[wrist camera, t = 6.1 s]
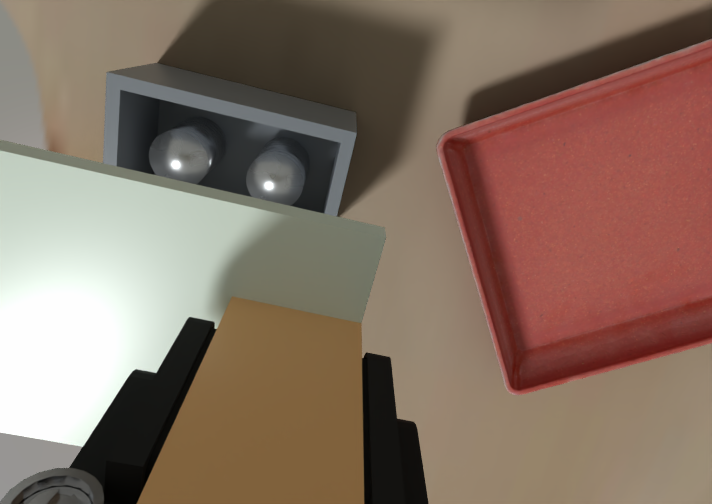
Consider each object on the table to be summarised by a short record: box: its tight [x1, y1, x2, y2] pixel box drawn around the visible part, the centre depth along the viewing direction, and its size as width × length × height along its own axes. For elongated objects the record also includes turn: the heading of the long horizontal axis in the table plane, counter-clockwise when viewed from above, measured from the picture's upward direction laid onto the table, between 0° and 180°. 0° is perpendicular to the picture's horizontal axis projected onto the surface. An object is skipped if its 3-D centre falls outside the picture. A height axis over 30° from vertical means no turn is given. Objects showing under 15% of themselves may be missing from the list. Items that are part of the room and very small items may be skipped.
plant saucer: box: [436, 39, 712, 395], centre depth 30 cm, size 18×18×3 cm
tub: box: [103, 63, 357, 216], centre depth 26 cm, size 7×11×6 cm, turn 76°
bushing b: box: [246, 137, 310, 206], centre depth 27 cm, size 3×3×4 cm
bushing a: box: [149, 117, 227, 184], centre depth 26 cm, size 3×3×4 cm
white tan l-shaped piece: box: [0, 140, 386, 504], centre depth 9 cm, size 8×12×8 cm, turn 76°
